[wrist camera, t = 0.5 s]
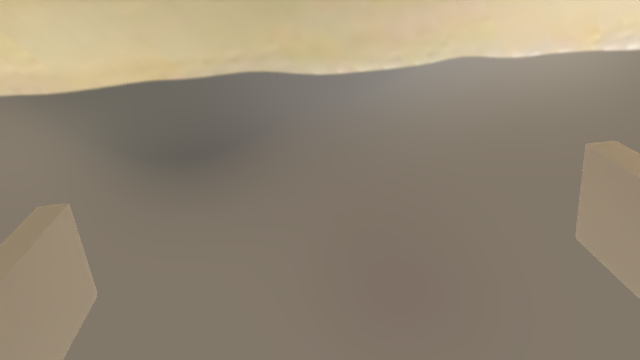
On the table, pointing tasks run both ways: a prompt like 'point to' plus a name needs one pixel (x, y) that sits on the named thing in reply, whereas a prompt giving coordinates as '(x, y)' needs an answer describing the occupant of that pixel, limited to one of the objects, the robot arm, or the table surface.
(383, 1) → the table surface
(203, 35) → the table surface
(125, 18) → the table surface
